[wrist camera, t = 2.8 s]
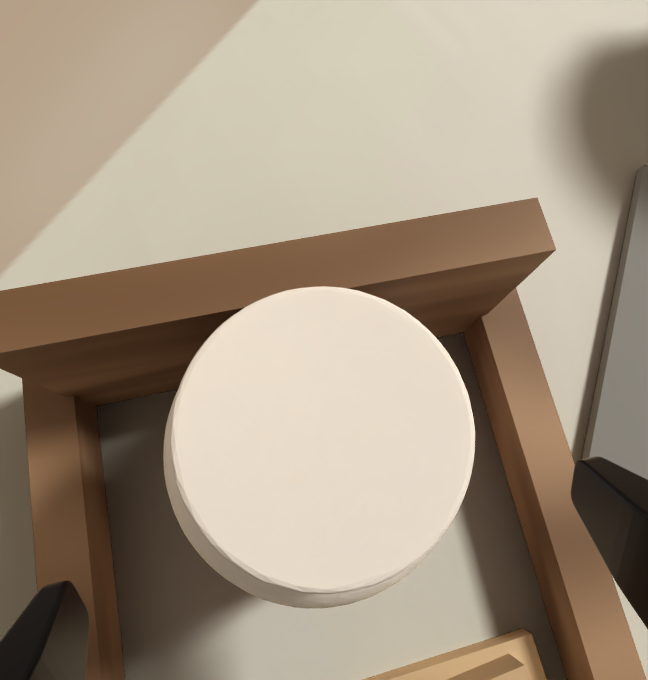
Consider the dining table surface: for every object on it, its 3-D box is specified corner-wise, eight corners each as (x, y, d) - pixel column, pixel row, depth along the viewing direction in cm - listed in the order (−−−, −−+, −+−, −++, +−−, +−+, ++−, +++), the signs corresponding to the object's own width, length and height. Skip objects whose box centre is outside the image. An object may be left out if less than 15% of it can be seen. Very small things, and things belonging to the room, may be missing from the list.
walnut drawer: (671, 859, 16) (942, 1119, 9) (105, 1044, 14) (-63, 1531, 8) (489, 288, 21) (581, 189, 14) (48, 372, 19) (-85, 305, 12)
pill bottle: (179, 448, 19) (29, 385, 8) (320, 343, 20) (351, 170, 9) (289, 602, 17) (282, 765, 7) (431, 480, 19) (608, 459, 8)
